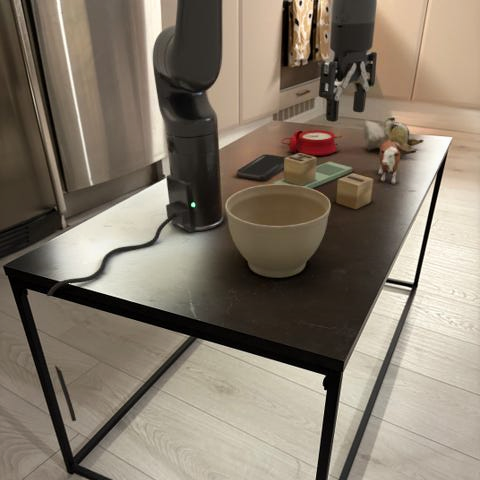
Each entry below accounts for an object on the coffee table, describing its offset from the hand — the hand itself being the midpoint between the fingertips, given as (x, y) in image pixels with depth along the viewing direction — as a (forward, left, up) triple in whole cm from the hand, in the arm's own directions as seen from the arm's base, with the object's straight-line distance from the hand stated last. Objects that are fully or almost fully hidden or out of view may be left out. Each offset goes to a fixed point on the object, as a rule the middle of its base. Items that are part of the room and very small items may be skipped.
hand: (345, 116), depth 97 cm
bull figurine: (+16, -1, -17) cm, 23 cm away
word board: (+5, +11, -16) cm, 20 cm away
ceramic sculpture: (+34, +10, -17) cm, 39 cm away
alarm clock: (+21, +26, -17) cm, 37 cm away
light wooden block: (0, +11, -15) cm, 19 cm away
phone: (+2, +24, -16) cm, 29 cm away
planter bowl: (-30, -11, -17) cm, 36 cm away
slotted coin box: (0, -4, -16) cm, 17 cm away
